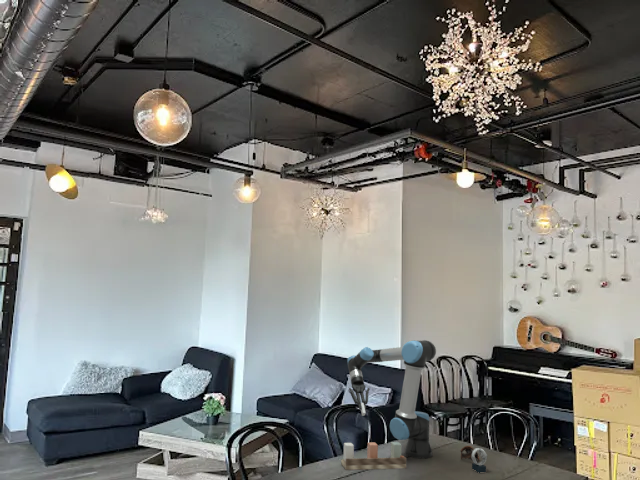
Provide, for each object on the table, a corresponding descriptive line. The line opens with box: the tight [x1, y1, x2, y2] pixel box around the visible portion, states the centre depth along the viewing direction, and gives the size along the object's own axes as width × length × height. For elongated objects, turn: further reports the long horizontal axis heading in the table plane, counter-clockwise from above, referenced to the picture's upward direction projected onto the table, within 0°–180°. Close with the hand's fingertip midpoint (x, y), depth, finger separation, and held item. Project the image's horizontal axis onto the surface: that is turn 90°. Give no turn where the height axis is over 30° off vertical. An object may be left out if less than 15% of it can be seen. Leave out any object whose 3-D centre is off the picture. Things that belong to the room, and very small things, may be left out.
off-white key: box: [343, 442, 355, 462], centre depth 245 cm, size 4×5×8 cm
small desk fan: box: [471, 447, 488, 474], centre depth 243 cm, size 6×8×11 cm
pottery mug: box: [460, 445, 480, 461], centre depth 262 cm, size 12×10×8 cm
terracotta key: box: [366, 441, 379, 458], centre depth 247 cm, size 4×5×8 cm
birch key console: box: [340, 454, 407, 471], centre depth 245 cm, size 32×10×6 cm, turn 101°
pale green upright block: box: [390, 441, 402, 458], centre depth 250 cm, size 4×5×8 cm
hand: (363, 414), depth 266 cm, fingers closed
